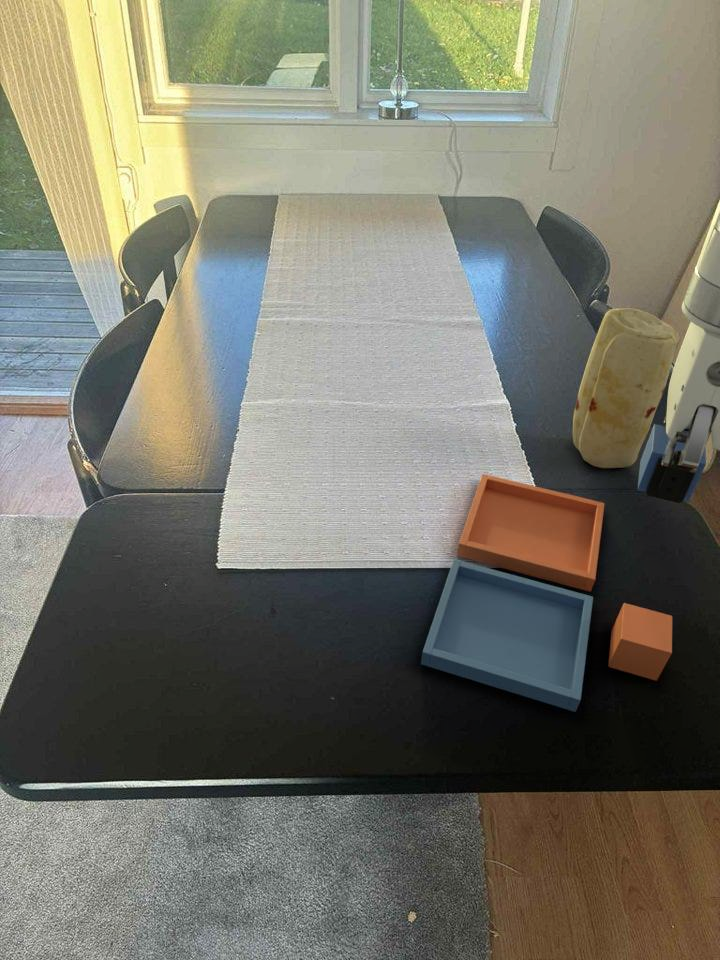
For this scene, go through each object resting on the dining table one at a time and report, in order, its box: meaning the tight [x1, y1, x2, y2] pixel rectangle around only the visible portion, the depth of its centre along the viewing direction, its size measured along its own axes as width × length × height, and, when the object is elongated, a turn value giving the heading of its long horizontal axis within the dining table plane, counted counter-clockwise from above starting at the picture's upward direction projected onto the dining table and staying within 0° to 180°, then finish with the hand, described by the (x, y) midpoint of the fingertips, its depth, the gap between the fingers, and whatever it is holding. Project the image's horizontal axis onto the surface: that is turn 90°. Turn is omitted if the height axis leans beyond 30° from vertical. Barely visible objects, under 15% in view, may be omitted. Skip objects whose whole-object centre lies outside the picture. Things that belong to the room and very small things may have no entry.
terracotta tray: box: [456, 473, 605, 593], centre depth 80 cm, size 15×13×2 cm
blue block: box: [637, 423, 707, 503], centre depth 64 cm, size 4×4×4 cm
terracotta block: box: [607, 602, 673, 681], centre depth 67 cm, size 4×4×4 cm
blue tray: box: [420, 558, 594, 713], centre depth 69 cm, size 15×13×2 cm
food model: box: [572, 308, 681, 469], centre depth 85 cm, size 10×7×20 cm
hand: (665, 478), depth 65 cm, fingers closed on blue block, 4 cm apart
